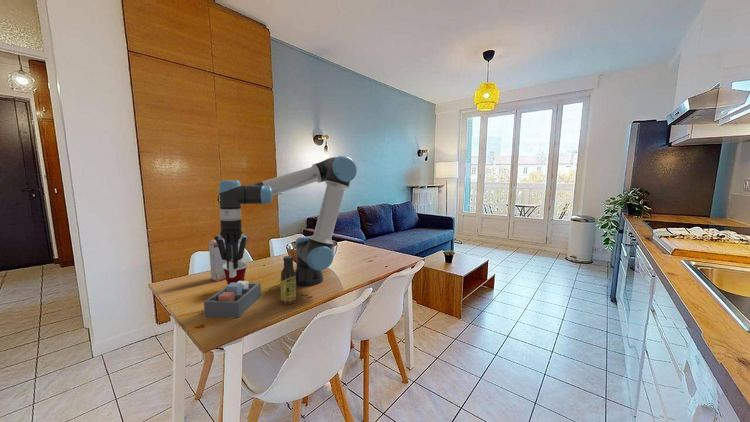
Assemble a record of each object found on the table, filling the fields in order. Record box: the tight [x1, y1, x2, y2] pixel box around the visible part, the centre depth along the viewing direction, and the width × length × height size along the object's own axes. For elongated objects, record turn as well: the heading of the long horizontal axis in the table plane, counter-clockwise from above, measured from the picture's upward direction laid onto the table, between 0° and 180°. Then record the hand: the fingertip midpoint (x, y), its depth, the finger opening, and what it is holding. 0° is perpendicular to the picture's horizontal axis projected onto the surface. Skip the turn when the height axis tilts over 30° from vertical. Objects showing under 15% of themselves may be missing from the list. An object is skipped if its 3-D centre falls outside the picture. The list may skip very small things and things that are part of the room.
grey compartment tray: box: [203, 282, 262, 319], centre depth 118 cm, size 13×20×6 cm, turn 179°
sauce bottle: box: [280, 255, 297, 306], centre depth 120 cm, size 6×6×20 cm
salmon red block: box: [218, 292, 235, 301], centre depth 111 cm, size 4×4×5 cm
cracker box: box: [208, 238, 243, 283], centre depth 150 cm, size 14×6×21 cm, turn 144°
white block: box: [237, 280, 250, 289], centre depth 123 cm, size 4×4×5 cm
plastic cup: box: [222, 261, 248, 285], centre depth 134 cm, size 11×11×12 cm
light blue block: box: [225, 283, 242, 294], centre depth 117 cm, size 4×4×5 cm
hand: (232, 276), depth 116 cm, fingers closed
